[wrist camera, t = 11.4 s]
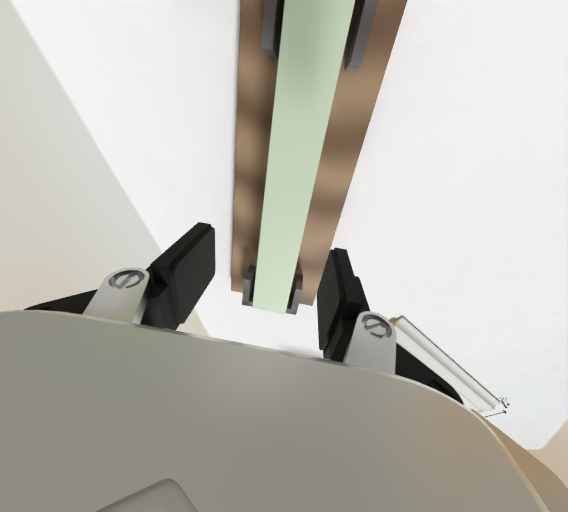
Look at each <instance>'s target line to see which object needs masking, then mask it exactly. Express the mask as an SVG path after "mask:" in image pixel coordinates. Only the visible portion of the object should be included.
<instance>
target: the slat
mask: <svg viewBox="0 0 568 512" xmlns="http://www.w3.org/2000/svg"><path fill="white" fill-rule="evenodd" d="M354 4H355V0H285V5H284V14H283V23H282V33H281V42H280V52H279V61H278V71H277V80H276V89H275V99H274V108H273V118H272V127H271V137H270V146H269V155H268V165H267V174H266V184H265V193H264V203H263V212H262V221H261V231H260V240H259V250H258V259H257V269H256V278H255V287H254V297H253V306H252V308H258V309H263V310H268V311H274V312H279V313H284V314H285V313H286V309H287V304H288V300H289V295H290V291H291V286H292V282H293V277H294V273H295V268H296V264H297V259H298V255H299V250H300V246H301V241H302V237H303V233H304V228H305V224H306V219H307V215H308V210H309V206H310V201H311V197H312V192H313V188H314V183H315V179H316V174H317V170H318V165H319V161H320V156H321V152H322V147H323V143H324V138H325V134H326V129H327V125H328V120H329V116H330V111H331V107H332V102H333V98H334V93H335V89H336V84H337V80H338V75H339V71H340V66H341V62H342V58H343V53H344V49H345V44H346V40H347V35H348V31H349V26H350V22H351V17H352V13H353V8H354Z"/></svg>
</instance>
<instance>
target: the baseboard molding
mask: <svg viewBox="0 0 568 512" xmlns="http://www.w3.org/2000/svg"><path fill="white" fill-rule="evenodd" d="M391 323H392V324H393V326H394V328H395V329H396V334H397V338H396V342H397V343H398V344H399V345H401V346H402V347H403V348H404V349H406V350H407V351H408V352H410V353H411V354H412V355H413V356H415V357H416V358H417V359H419V360H420V361H421V362H422V363H424V364H425V365H426V366H427V367H429V368H430V369H431V370H433V371H434V372H435V373H436V374H438V375H439V376H440V377H442V378H443V379H444V380H445V381H447V382H448V383H449V384H450V385H451V386H452V387H453V388H454V389H455V390H456V392H457V393H458V394H459V395H460V397H461V399H462V401H463V403H464V406H465V407H467V408H468V409H471V408H472V409H474V410H475V411H476V412H477V413H483V412H485V411H488V410H489V411H491V410H494V408H495V406H496V405H498V404H500V402H501V401H500V402H499V401H498V400H497V399H496V398H494V397H493V396H492V395H491V394H490V393H489V392H488V391H487V390H485V389H484V388H483V387H482V386H481V385H480V384H479V383H477V382H476V381H475V380H474V379H473V378H472V377H471V376H469V375H468V374H467V373H466V372H465V371H464V370H463V369H462V368H460V367H459V366H458V365H457V364H456V363H455V362H454V361H452V360H451V359H450V358H449V357H448V356H447V355H446V354H444V353H443V352H442V351H441V350H440V349H439V348H438V347H437V346H435V345H434V344H433V343H432V342H431V341H430V340H429V339H427V338H426V337H425V336H424V335H423V334H422V333H421V332H419V331H418V330H417V329H416V328H415V327H414V326H413V325H412V324H410V323H409V322H408V321H407V320H406V319H405V318H404V317H400V318H398V319H397V320H395V321H393V322H391ZM505 401H506V400H505ZM503 405H504V404H503ZM507 405H509V404H508V403H507ZM504 407H505V408H507V407H506V406H505V405H504ZM503 411H504V410H503ZM502 413H505V414H506V411H504V412H502ZM498 414H500V413H498ZM494 415H496V414H494ZM490 416H492V415H490ZM486 417H488V416H486Z"/></svg>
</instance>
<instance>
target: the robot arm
mask: <svg viewBox="0 0 568 512" xmlns="http://www.w3.org/2000/svg"><path fill="white" fill-rule="evenodd" d="M214 274H215V229H214V228H213V227H211V225H210V224H206V223H201V222H199V223H197V224H196V225H195V226H194V227H193V228H191V229H190V230H189V231H188V232H187V233H186V234H185V235H183V236H182V237H181V238H180V239H179V240H178V241H176V242H175V243H174V244H173V245H172V246H171V247H170V248H168V249H167V250H166V251H165V252H164V253H163V254H162V255H160V256H159V257H158V258H157V259H156V260H155V261H153V262H152V264H150V266H149V267H148V268H147V269H146V270H144V269H141V268H125V269H121V270H119V271H116V272H113V273H112V274H110V275H108V276H107V277H106V278H105V279H104V281H103V282H102V284H101V286H100V287H99V289H97V290H93V291H89V292H85V293H81V294H77V295H73V296H69V297H65V298H61V299H57V300H53V301H49V302H45V303H41V304H38V305H35V306H32V307H29V308H26V309H24V310H14V311H4V312H0V512H568V489H567V488H566V486H565V485H564V484H563V483H562V481H561V480H560V479H559V478H558V477H557V476H556V475H555V474H554V473H553V472H552V471H551V470H549V468H547V467H546V466H545V465H544V464H543V463H541V462H540V461H539V460H537V459H536V458H535V457H534V456H532V455H531V454H530V453H529V452H527V451H526V450H525V449H523V448H522V447H521V446H520V445H518V444H517V443H516V442H515V441H513V440H512V439H511V438H509V437H508V436H507V435H506V434H504V433H503V432H502V431H500V430H499V429H498V428H497V427H495V426H494V425H493V424H491V423H490V422H489V421H488V420H486V419H485V418H484V417H483V416H481V415H480V414H479V413H477V412H476V411H475V410H474V409H472V408H471V409H468V408H467V407H465V406H464V403H463V401H462V399H461V397H460V395H459V394H458V393H457V392H456V390H455V389H454V388H453V387H452V386H451V385H450V384H449V383H448V382H447V381H445V380H444V379H443V378H442V377H440V376H439V375H438V374H436V373H435V372H434V371H433V370H431V369H430V368H429V367H427V366H426V365H425V364H424V363H422V362H421V361H420V360H419V359H417V358H416V357H415V356H413V355H412V354H411V353H410V352H408V351H407V350H406V349H404V348H403V347H402V346H401V345H399V344H398V343H397V342H396V338H397V334H396V329H395V328H394V326H393V324H392V323H391V322H390V321H389V320H388V319H386V318H385V317H384V316H382V315H380V314H378V313H375V312H370V309H369V306H368V303H367V300H366V297H365V294H364V291H363V288H362V285H361V282H360V279H359V277H357V276H354V273H353V270H352V267H351V263H350V260H349V257H348V253H347V250H346V249H340V248H334V250H330V252H329V255H328V258H327V261H326V265H325V268H324V271H323V274H322V277H321V281H320V284H319V287H318V291H317V310H318V332H319V349H320V350H323V356H324V359H321V358H316V357H311V356H306V355H301V354H296V353H291V352H285V351H280V350H275V349H270V348H265V347H259V346H254V345H249V344H244V343H238V342H233V341H228V340H223V339H217V338H212V337H206V336H201V335H196V334H191V333H185V332H179V331H174V330H176V329H177V327H178V326H179V324H180V323H181V324H183V323H184V322H185V321H186V319H187V318H188V316H189V314H190V313H191V311H192V310H193V308H194V307H195V305H196V303H197V302H198V300H199V299H200V297H201V296H202V294H203V292H204V291H205V289H206V288H207V286H208V285H209V283H210V281H211V280H212V278H213V277H214ZM164 328H165V329H164ZM169 329H171V330H169ZM327 359H330V360H327Z"/></svg>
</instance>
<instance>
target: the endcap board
mask: <svg viewBox="0 0 568 512" xmlns="http://www.w3.org/2000/svg"><path fill="white" fill-rule="evenodd" d="M406 3H407V0H355V4H354V8H353V13H352V17H351V22H350V26H349V31H348V35H347V40H346V44H345V49H344V53H343V58H342V62H341V66H340V71H339V75H338V80H337V84H336V89H335V93H334V98H333V102H332V107H331V111H330V116H329V120H328V125H327V129H326V134H325V138H324V143H323V147H322V152H321V156H320V161H319V165H318V170H317V174H316V179H315V183H314V188H313V192H312V197H311V201H310V206H309V210H308V215H307V219H306V224H305V228H304V233H303V237H302V241H301V246H300V250H299V255H298V259H297V264H296V268H295V273H294V277H293V282H292V286H291V291H290V295H289V300H288V304H287V309H286V313H289V314H295V315H296V312H297V309H298V305H299V303H300V304H306V305H311V306H312V305H313V302H314V299H315V296H316V292H317V289H318V286H319V283H320V279H321V276H322V273H323V270H324V267H325V263H326V260H327V257H328V254H329V251H330V247H331V244H332V241H333V238H334V234H335V231H336V228H337V225H338V222H339V218H340V215H341V212H342V209H343V206H344V202H345V199H346V196H347V193H348V189H349V186H350V183H351V180H352V177H353V173H354V170H355V167H356V164H357V160H358V157H359V154H360V151H361V148H362V144H363V141H364V138H365V135H366V132H367V128H368V125H369V122H370V119H371V115H372V112H373V109H374V106H375V103H376V99H377V96H378V93H379V90H380V87H381V83H382V80H383V77H384V74H385V70H386V67H387V64H388V61H389V58H390V54H391V51H392V48H393V45H394V41H395V38H396V35H397V32H398V29H399V25H400V22H401V19H402V16H403V13H404V9H405V6H406ZM284 5H285V0H241V19H240V48H239V77H238V106H237V135H236V163H235V192H234V221H233V250H232V278H231V291H236V292H242V293H243V299H242V305H247V306H253V297H254V287H255V278H256V269H257V259H258V250H259V240H260V231H261V221H262V212H263V203H264V193H265V184H266V174H267V165H268V155H269V146H270V137H271V127H272V118H273V108H274V99H275V89H276V80H277V71H278V61H279V52H280V42H281V33H282V23H283V14H284Z"/></svg>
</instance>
